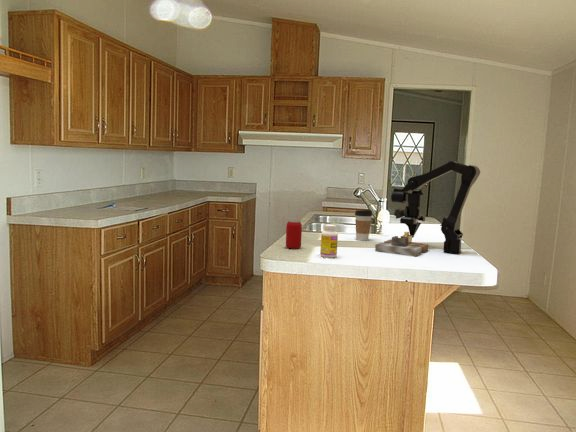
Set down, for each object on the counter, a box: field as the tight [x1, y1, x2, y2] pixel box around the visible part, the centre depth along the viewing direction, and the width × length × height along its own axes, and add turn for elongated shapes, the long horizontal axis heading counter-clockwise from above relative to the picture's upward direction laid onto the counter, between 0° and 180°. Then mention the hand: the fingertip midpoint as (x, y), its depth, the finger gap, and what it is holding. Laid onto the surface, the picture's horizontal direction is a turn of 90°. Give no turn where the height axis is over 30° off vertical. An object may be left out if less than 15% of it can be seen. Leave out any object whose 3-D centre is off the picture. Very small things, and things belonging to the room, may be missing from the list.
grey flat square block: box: [374, 235, 429, 257], centre depth 217 cm, size 18×18×6 cm
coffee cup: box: [354, 209, 373, 242], centre depth 244 cm, size 8×8×15 cm
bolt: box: [400, 231, 413, 243], centre depth 221 cm, size 3×7×5 cm, turn 148°
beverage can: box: [285, 219, 303, 250], centre depth 215 cm, size 7×7×12 cm
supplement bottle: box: [319, 223, 339, 259], centre depth 198 cm, size 7×7×13 cm
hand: (411, 237), depth 228 cm, fingers closed
